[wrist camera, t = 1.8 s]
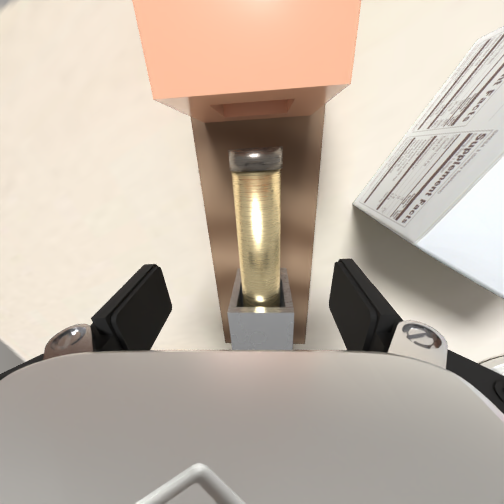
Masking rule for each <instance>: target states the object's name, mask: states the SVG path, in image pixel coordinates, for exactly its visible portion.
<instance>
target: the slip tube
mask: <svg viewBox="0 0 504 504" xmlns="http://www.w3.org/2000/svg"><path fill="white" fill-rule="evenodd" d="M228 157H229V168H230V171H231V172H232V183H233V195H234V206H235V217H236V228H237V239H238V250H239V261H240V273H241V284H242V295H243V306H244V307H280V223H281V168H283V147H261V148H245V149H231V150H228Z"/></svg>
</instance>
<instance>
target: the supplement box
mask: <svg viewBox="0 0 504 504" xmlns="http://www.w3.org/2000/svg"><path fill="white" fill-rule="evenodd" d="M353 205H354V206H356V207H357V208H359V209H360V210H362V211H363V212H365V213H366V214H368V215H369V216H371V217H372V218H373V219H375V220H376V221H378V222H379V223H381V224H382V225H384V226H385V227H387V228H388V229H390V230H391V231H393V232H394V233H396V234H397V235H399V236H400V237H402V238H403V239H405V240H406V241H408V242H409V243H411V244H413V245H414V246H416V247H417V248H419V249H420V250H422V251H423V252H425V253H427V254H428V255H430V256H431V257H433V258H435V259H436V260H438V261H439V262H441V263H443V264H444V265H446V266H448V267H450V268H451V269H453V270H455V271H456V272H458V273H460V274H461V275H463V276H465V277H466V278H468V279H470V280H472V281H473V282H475V283H477V284H478V285H480V286H482V287H484V288H485V289H487V290H489V291H491V292H492V293H494V294H496V295H498V296H499V297H501V298H503V299H504V26H502V27H500V28H498V29H497V30H495V31H493V32H491V33H489V34H487V35H485V36H483V37H481V38H479V39H478V40H477V41H476V42H475V43H474V45H473V46H472V47H471V49H470V50H469V51H468V53H467V54H466V55H465V57H464V58H463V59H462V61H461V62H460V63H459V65H458V66H457V67H456V69H455V70H454V71H453V72H452V74H451V75H450V76H449V78H448V79H447V80H446V82H445V83H444V84H443V85H442V87H441V88H440V89H439V91H438V92H437V93H436V95H435V96H434V97H433V99H432V100H431V101H430V102H429V104H428V105H427V106H426V108H425V109H424V110H423V112H422V113H421V114H420V115H419V117H418V118H417V119H416V121H415V122H414V123H413V125H412V126H411V127H410V129H409V130H408V131H407V133H406V134H405V135H404V136H403V138H402V139H401V140H400V142H399V143H398V144H397V146H396V147H395V148H394V150H393V151H392V152H391V153H390V155H389V156H388V157H387V159H386V160H385V161H384V163H383V164H382V165H381V166H380V168H379V169H378V170H377V172H376V173H375V174H374V176H373V177H372V178H371V180H370V181H369V182H368V183H367V185H366V186H365V187H364V189H363V190H362V191H361V193H360V194H359V195H358V197H357V198H356V199H355V201H354V202H353Z"/></svg>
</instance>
